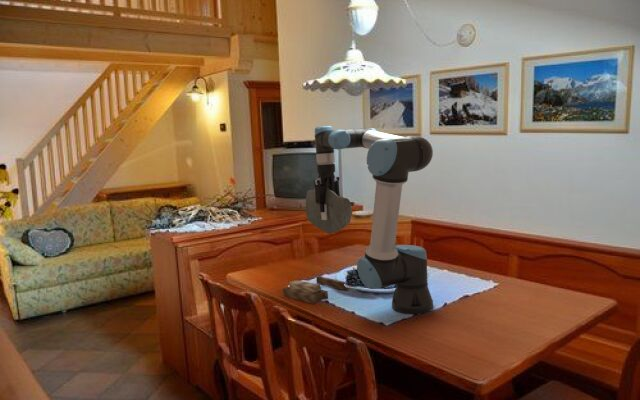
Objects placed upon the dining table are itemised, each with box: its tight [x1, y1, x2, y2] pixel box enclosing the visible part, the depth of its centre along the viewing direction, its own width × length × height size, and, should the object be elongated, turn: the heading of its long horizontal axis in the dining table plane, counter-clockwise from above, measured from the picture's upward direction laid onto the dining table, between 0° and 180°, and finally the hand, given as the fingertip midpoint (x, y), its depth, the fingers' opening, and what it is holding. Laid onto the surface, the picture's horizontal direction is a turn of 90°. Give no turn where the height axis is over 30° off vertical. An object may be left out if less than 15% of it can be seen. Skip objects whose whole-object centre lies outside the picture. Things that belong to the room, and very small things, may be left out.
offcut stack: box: [289, 279, 322, 295], centre depth 199 cm, size 14×4×6 cm, turn 51°
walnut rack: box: [282, 275, 350, 305], centre depth 204 cm, size 18×21×3 cm
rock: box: [305, 188, 353, 235], centre depth 204 cm, size 27×6×20 cm, turn 43°
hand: (329, 218), depth 205 cm, fingers closed on rock, 5 cm apart
